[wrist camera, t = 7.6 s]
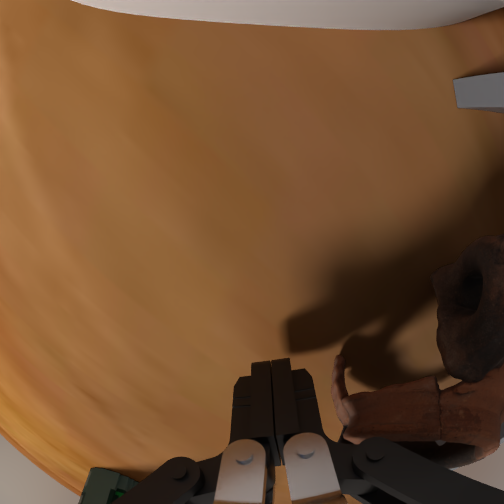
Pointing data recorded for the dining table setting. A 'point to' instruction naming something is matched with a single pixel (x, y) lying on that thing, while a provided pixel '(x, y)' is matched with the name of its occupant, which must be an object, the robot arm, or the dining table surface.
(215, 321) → the dining table surface
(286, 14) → the white circle with bar
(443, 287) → the pottery mug
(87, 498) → the can
